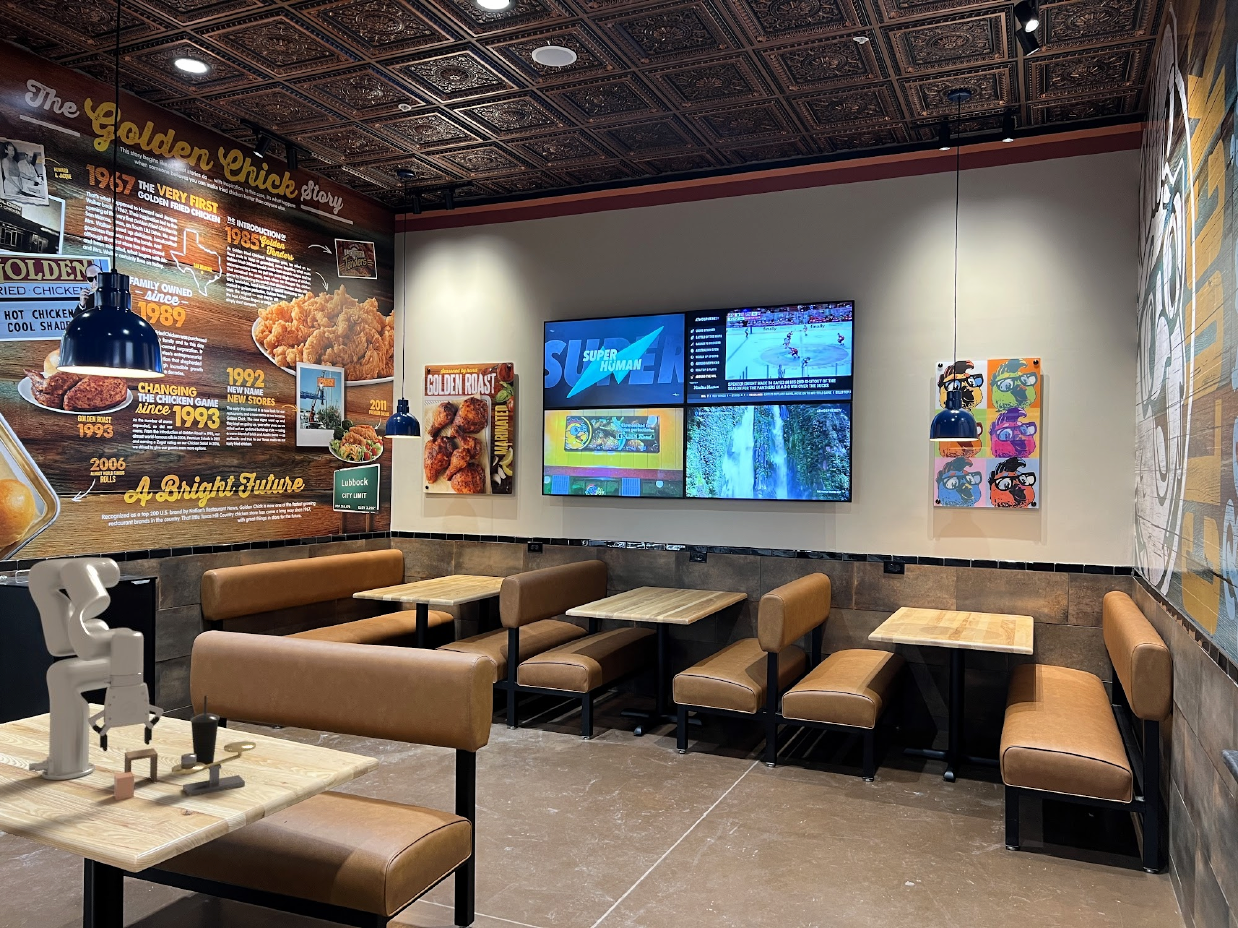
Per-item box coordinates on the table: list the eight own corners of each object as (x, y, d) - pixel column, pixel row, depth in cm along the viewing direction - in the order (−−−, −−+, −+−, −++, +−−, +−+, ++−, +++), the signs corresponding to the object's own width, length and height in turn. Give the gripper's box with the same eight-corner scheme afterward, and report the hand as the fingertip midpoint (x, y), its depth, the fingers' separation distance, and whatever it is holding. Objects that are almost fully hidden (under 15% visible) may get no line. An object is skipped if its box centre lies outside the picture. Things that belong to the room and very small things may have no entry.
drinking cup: (207, 770, 256) (208, 699, 256) (183, 768, 257) (184, 697, 258) (224, 762, 263) (225, 693, 264) (200, 760, 265) (202, 691, 265)
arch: (127, 787, 242) (128, 757, 242) (124, 781, 246) (124, 752, 246) (156, 782, 246) (157, 753, 246) (152, 776, 250) (153, 747, 251)
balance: (174, 799, 233) (175, 760, 233) (168, 790, 239) (169, 752, 239) (258, 784, 245) (259, 746, 245) (250, 776, 252) (251, 739, 252)
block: (116, 800, 232) (116, 778, 232) (113, 795, 235) (114, 774, 235) (133, 797, 234) (134, 775, 234) (131, 792, 238) (131, 771, 238)
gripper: (90, 686, 227) (89, 755, 226) (166, 678, 237) (165, 744, 237) (86, 682, 233) (85, 749, 232) (160, 673, 243) (160, 738, 243)
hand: (126, 746), depth 235 cm, fingers open, 9 cm apart
